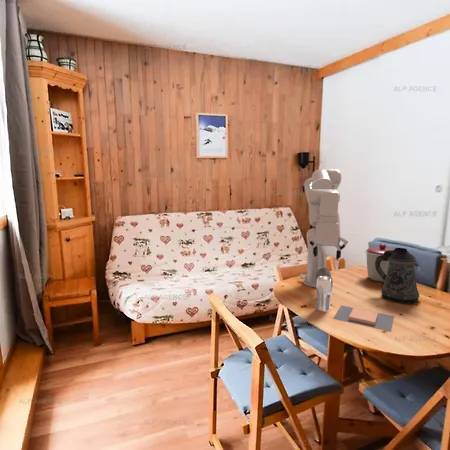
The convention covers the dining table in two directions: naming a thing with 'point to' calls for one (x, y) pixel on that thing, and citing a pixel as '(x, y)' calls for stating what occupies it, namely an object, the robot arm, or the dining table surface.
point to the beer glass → (324, 292)
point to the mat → (381, 323)
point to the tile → (363, 316)
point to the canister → (371, 258)
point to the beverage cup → (323, 272)
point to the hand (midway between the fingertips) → (326, 257)
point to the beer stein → (398, 276)
